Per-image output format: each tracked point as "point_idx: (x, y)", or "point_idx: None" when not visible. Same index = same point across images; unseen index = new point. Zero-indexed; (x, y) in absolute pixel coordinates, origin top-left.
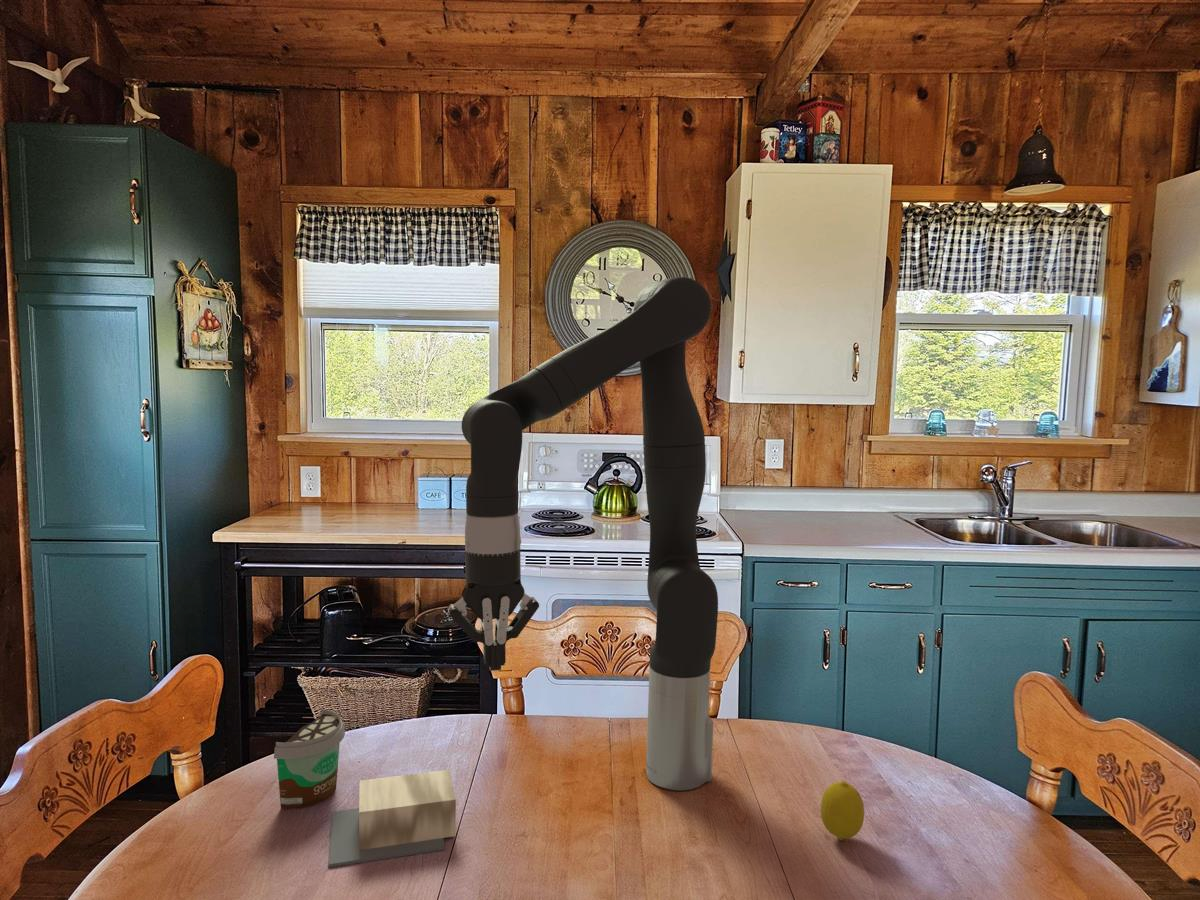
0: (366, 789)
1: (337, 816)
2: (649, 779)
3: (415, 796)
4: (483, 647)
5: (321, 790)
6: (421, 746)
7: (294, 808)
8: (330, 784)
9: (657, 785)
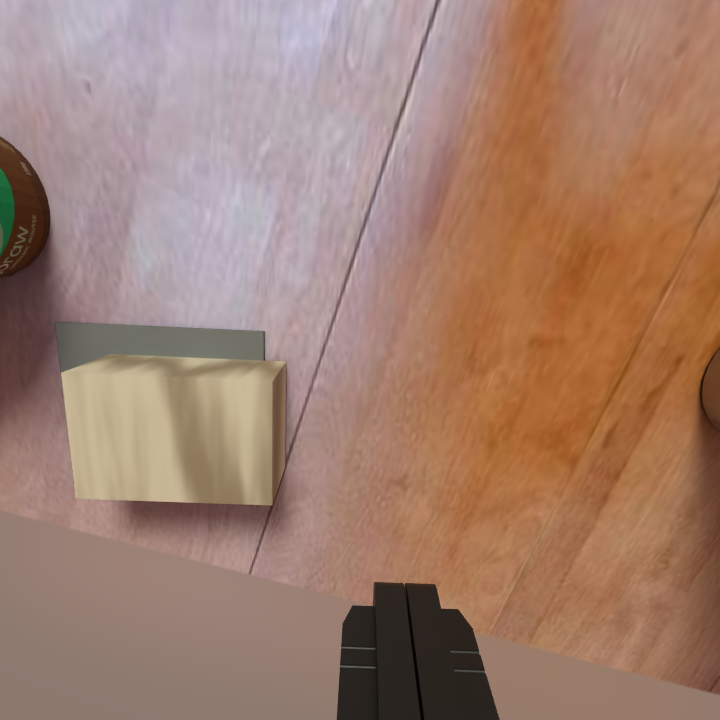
0: (81, 415)
1: (67, 344)
2: (703, 386)
3: (189, 471)
4: (337, 715)
5: (6, 268)
6: (248, 44)
7: None
8: (20, 251)
9: (705, 410)
